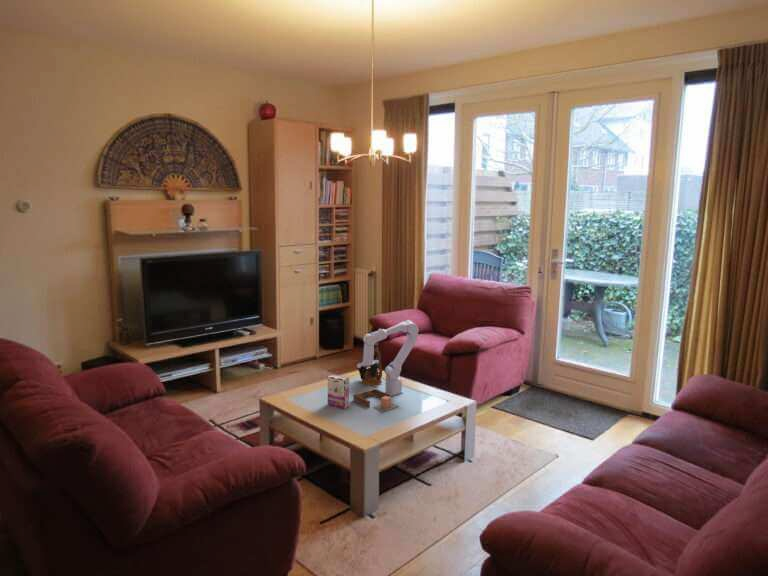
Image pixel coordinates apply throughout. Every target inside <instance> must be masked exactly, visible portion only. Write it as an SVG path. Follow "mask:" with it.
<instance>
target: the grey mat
mask: <svg viewBox="0 0 768 576" xmlns="http://www.w3.org/2000/svg"><path fill="white" fill-rule="evenodd" d="M399 407H400V405H397V404H396V403H393V402H391V407H389V408H384V407H381V404H378V405H374V406H373V407H372V408H373V409H375V410H376V411H380V412H382V413H385V412H388V411H391V410H395V409H398V408H399Z"/></svg>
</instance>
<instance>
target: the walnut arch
mask: <svg viewBox="0 0 768 576" xmlns="http://www.w3.org/2000/svg"><path fill="white" fill-rule="evenodd" d="M382 391H383V390H380V389H377V388H372V389H368V390H364V391H360V392H359V393H355V394H353V395H352V396H353V398H352V399H353V402H356V403H357V404H360V405H362V406H364V407H365V408H368V409H369V408H370V407H371V401H370V400H368V399H367V398H369V397H373V395H374V396H375V395H376V397H378V398H380V399H381V398H382V397H384V396H388V397H391V396H390V395H389V394H387V393H384V392H382Z"/></svg>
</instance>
